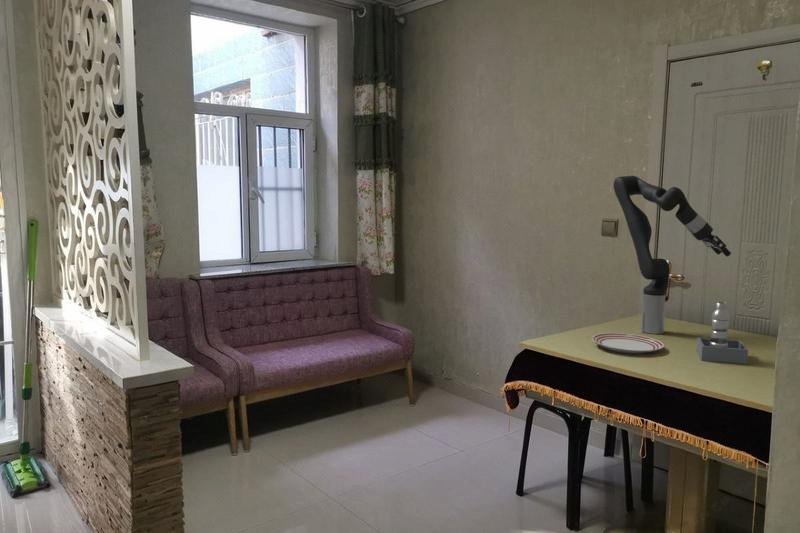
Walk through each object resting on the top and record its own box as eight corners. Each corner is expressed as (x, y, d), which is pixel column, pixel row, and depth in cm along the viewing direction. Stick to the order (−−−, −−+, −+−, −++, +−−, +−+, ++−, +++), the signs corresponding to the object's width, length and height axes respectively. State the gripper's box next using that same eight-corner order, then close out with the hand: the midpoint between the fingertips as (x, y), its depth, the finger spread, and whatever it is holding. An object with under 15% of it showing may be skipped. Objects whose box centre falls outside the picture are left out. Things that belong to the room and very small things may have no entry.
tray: (701, 360, 224) (702, 346, 224) (696, 350, 238) (697, 337, 238) (747, 364, 219) (748, 349, 219) (739, 354, 233) (740, 340, 233)
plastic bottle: (726, 352, 232) (729, 301, 229) (729, 357, 225) (732, 304, 223) (707, 351, 234) (710, 300, 231) (710, 355, 227) (713, 303, 225)
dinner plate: (673, 347, 244) (674, 339, 244) (648, 361, 224) (649, 352, 224) (608, 337, 263) (608, 329, 262) (579, 348, 243) (580, 340, 242)
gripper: (712, 221, 246) (739, 249, 246) (698, 219, 260) (724, 246, 260) (697, 234, 247) (725, 262, 247) (684, 232, 261) (710, 258, 261)
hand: (724, 254), depth 254 cm, fingers open, 8 cm apart
